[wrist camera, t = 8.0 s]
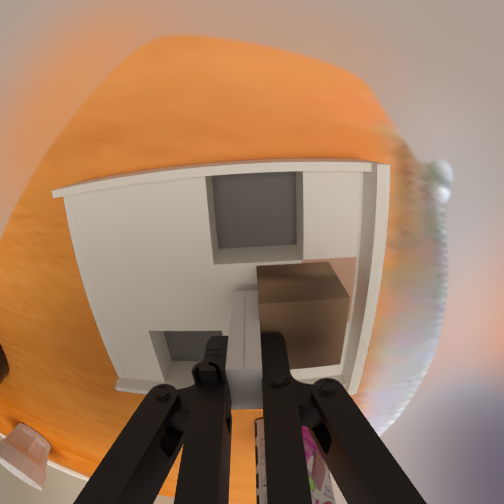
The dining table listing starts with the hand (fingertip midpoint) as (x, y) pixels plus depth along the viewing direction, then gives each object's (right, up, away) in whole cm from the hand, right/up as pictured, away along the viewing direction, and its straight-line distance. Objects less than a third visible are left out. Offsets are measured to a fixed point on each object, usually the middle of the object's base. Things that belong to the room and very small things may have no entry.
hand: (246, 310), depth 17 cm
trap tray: (-2, +2, +4) cm, 5 cm away
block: (+3, +1, +1) cm, 3 cm away
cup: (-44, -34, +18) cm, 58 cm away
